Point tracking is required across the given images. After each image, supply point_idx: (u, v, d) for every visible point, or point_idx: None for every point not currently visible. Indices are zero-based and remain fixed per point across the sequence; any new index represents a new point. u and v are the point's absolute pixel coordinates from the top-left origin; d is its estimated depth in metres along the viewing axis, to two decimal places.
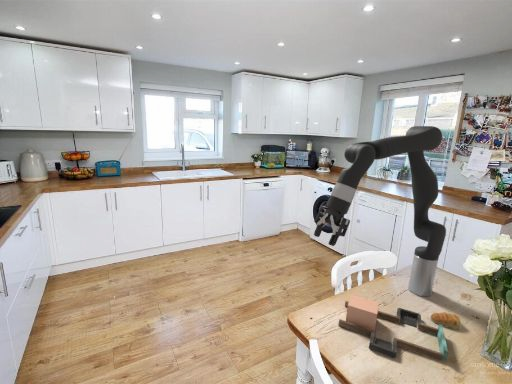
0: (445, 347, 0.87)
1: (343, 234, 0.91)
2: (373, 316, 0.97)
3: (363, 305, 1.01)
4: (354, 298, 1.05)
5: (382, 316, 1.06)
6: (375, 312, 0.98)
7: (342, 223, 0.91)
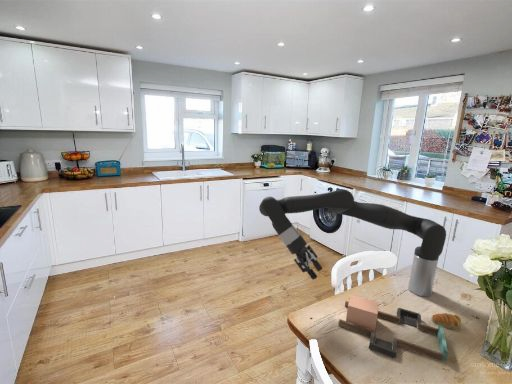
0: (445, 347, 0.87)
1: None
2: (374, 316, 0.97)
3: (363, 305, 1.01)
4: (354, 298, 1.05)
5: (382, 316, 1.06)
6: (375, 312, 0.98)
7: (311, 249, 1.15)
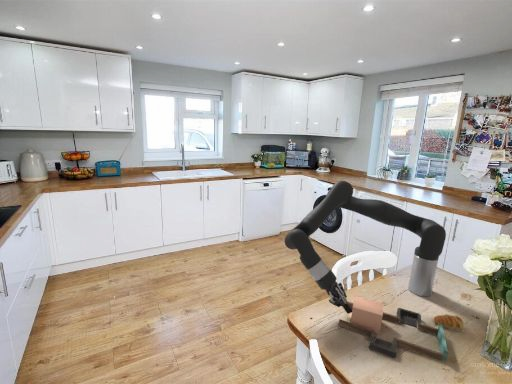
0: (445, 347, 0.87)
1: None
2: (379, 318, 0.97)
3: (368, 306, 1.01)
4: (358, 299, 1.04)
5: None
6: (380, 313, 0.97)
7: (342, 287, 1.09)
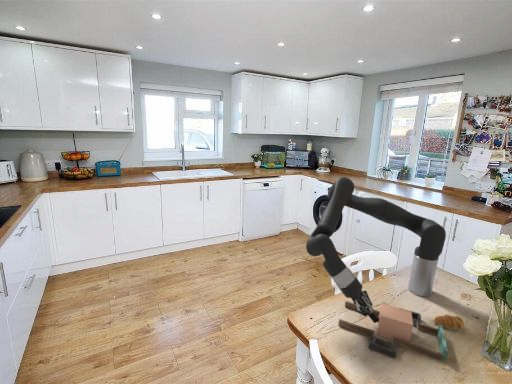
0: (445, 347, 0.87)
1: None
2: (409, 327, 0.92)
3: (397, 315, 0.96)
4: (385, 307, 1.00)
5: None
6: (411, 323, 0.93)
7: (367, 295, 1.05)
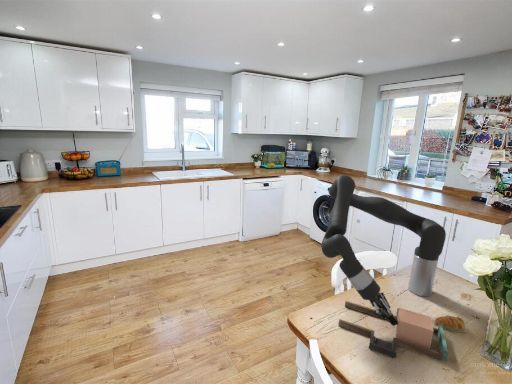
0: (445, 347, 0.87)
1: None
2: (429, 333, 0.90)
3: (416, 320, 0.94)
4: (403, 312, 0.98)
5: None
6: (431, 328, 0.90)
7: (384, 297, 1.03)
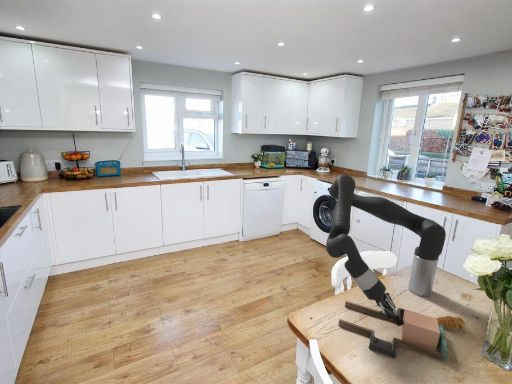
0: (445, 347, 0.87)
1: None
2: (435, 335, 0.89)
3: (422, 322, 0.93)
4: (409, 314, 0.97)
5: (382, 316, 1.06)
6: (437, 331, 0.90)
7: (390, 297, 1.02)
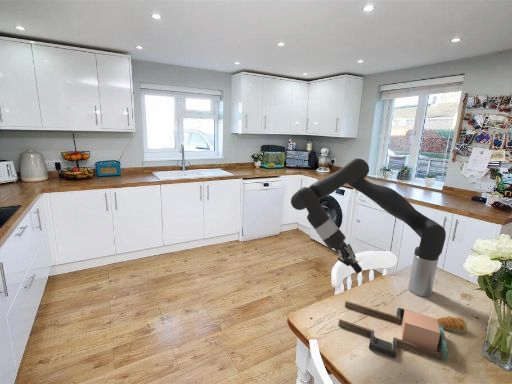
0: (445, 347, 0.87)
1: None
2: (436, 335, 0.89)
3: (422, 322, 0.93)
4: (409, 314, 0.97)
5: (382, 316, 1.06)
6: (437, 331, 0.90)
7: (351, 248, 1.06)
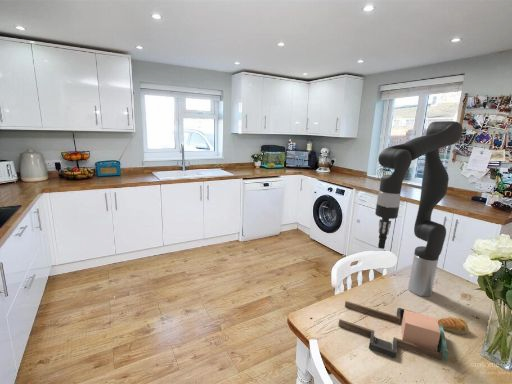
0: (445, 347, 0.87)
1: None
2: (436, 335, 0.89)
3: (422, 322, 0.93)
4: (409, 314, 0.97)
5: (382, 316, 1.06)
6: (437, 330, 0.90)
7: None
